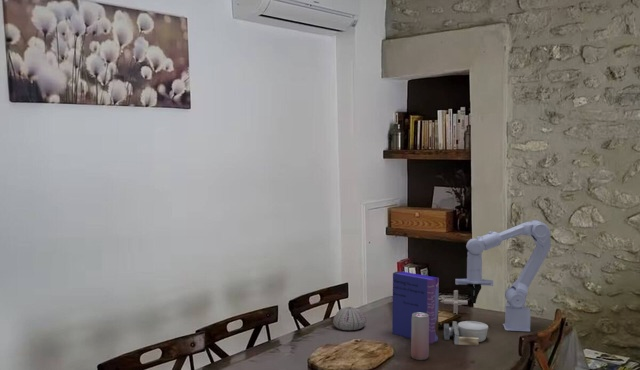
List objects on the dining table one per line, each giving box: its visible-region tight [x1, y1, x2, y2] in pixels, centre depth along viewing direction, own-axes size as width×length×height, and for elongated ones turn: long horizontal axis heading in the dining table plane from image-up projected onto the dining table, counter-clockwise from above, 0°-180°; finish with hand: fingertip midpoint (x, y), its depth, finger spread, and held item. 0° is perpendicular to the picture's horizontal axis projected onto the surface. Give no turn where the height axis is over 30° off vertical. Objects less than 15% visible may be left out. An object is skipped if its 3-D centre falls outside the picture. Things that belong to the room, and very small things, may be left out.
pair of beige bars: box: [457, 324, 480, 347], centre depth 232 cm, size 7×16×2 cm, turn 171°
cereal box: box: [391, 270, 440, 345], centre depth 232 cm, size 17×5×24 cm, turn 47°
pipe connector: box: [443, 289, 468, 315], centre depth 265 cm, size 10×10×10 cm
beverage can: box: [410, 312, 430, 361], centre depth 210 cm, size 6×6×15 cm
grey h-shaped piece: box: [443, 320, 460, 346], centre depth 232 cm, size 5×16×4 cm, turn 171°
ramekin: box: [457, 320, 489, 343], centre depth 231 cm, size 11×11×5 cm
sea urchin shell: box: [332, 306, 367, 331], centre depth 246 cm, size 13×14×8 cm
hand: (473, 302), depth 245 cm, fingers closed
